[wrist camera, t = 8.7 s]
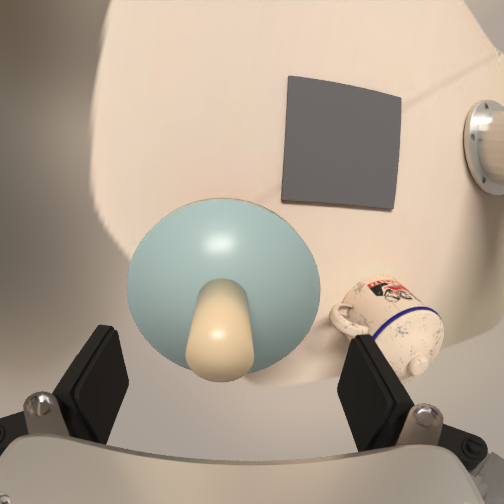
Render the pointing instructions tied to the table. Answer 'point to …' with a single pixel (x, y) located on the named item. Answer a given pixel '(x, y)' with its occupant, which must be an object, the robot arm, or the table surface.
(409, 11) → the table surface
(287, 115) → the mat
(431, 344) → the teacup with lid
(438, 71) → the table surface
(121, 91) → the table surface
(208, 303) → the cover
